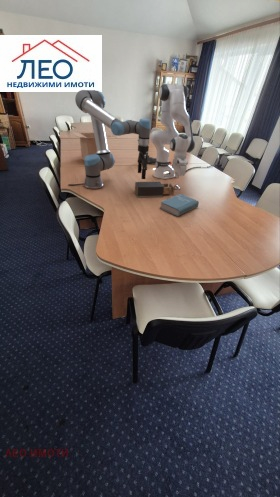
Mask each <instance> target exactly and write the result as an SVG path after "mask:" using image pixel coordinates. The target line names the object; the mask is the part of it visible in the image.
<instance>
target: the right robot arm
mask: <svg viewBox="0 0 280 497" xmlns="http://www.w3.org/2000/svg"><path fill="white" fill-rule="evenodd" d="M188 88H189V87H188V86H186V85H184V84H178V83H174V84H173V83H171V84H170V83H169V84H167V83H164V84H161V86H159V90H158V97H159V98H158V99H159V100H160V101H162V104H161V109H160V120H159V121H160V124H162V126H164V127H165V130H163V129H158V130H153V131H152V132H150V138H149V139H150V140H149V141H150V142H151V144H153V145H154V147H155V150H156V158H157V159H156V164H154V168H152V170H153V175H152V176H153V177H154V178H156V179H162V180H169V179H173V178H175V179H179V177H184V176H185V175H186V173H187V172H188V171H190V170H192V169H197V168H200V166H193V167H191V168H188V167H187V166H188V163H189V162H188V159H187V153H192V152H193V150H194V149H195V147H196V142H195V138H194V134H193V127H192V120H191V116H190V114H189V113H188V112H187V109H186V100H187V98H188V95H189V89H188ZM175 122H177V123H179V124H181V125H182V126H183V127H184V133H185V134H184V133H179V132H178V131H177V129H176V126H175ZM165 146H169V149H170V150H171V151H172V152H174V155H173V159H172V161H169V158H170V151H169V150H168V149H167V148H165ZM213 166H214V165H213V164H210V165H209V166H208V168H211V167H213ZM187 168H188V169H187Z"/></svg>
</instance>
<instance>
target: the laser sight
mask: <svg viewBox="0 0 280 497" xmlns="http://www.w3.org/2000/svg"><path fill="white" fill-rule="evenodd" d="M146 155H147V165H148V164H150V165H155V164H156V159H157V157H151V156H150V155H149V151H148V152H146Z"/></svg>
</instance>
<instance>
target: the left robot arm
mask: <svg viewBox="0 0 280 497" xmlns="http://www.w3.org/2000/svg"><path fill="white" fill-rule="evenodd" d="M74 98H75V104H76V106H77V108H78V109H79V110H80V111H81V112H83V113H85V114H88V115H89V116H90V121H91V125H92V130H93V131H94V136H95V141H96V146H97V152H96V154H90V155H87V156H86V157H85V159H84V160H83V163H84V171H85V172H84V173H85V178H84V181H83V183H75V184H74V183H73V184H72V183H71V184H67V185H68V186H69V187H70V186H71V187H72V186H83V187H84V188H86V189H88V190H98V189H102V188H103V187H104V181H103V178H102V176H101V172H104V171H106V170H110V169H112V168H113V167H114V165H115V163H116V162H115V161H116V160H115V156H114V154H112V153H111V150H110V149H109V147H108V141H107V137H106V135H105V133H106V130H105V127H107V128H108V129H110V131H111V133H112V135H113V136H116V137H117V136H118V137H119V136H125V135H132V134H134V135H138V139H137V144H138V145H137V151H138V157H137V174H141V180H146V176H147V170H148V163H147V155H146V152H148V153H149V151H150V141H151V140H150V135H151V128H152V127H151V126H152V124H151V122H152V121H151V120H150V119H149V118H140V119H139V120H138V121H136V120H132V119H125V120H124V121H121V120H120V119H119V118H117V117H115V116H114V115H113V114H112V113H110V112H108V111H107V110H105V106H106V98H105V96H104V94H103V93H102V92H101V91H99V90H95V89H81V90H79V91H78V92H77V93H76V94H75V97H74Z"/></svg>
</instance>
